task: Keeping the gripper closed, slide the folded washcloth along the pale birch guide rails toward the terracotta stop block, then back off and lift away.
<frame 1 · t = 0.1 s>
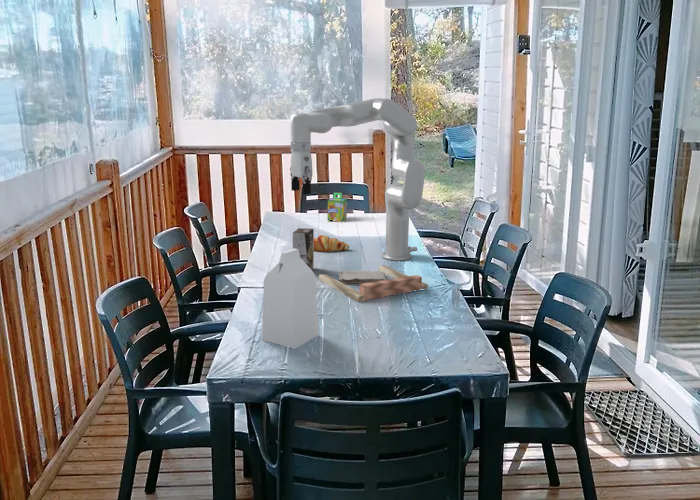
hand: (300, 192, 250), 31 cm above the table, fingers open, 9 cm apart
milk: (290, 338, 190), on the table
coffee box: (303, 270, 258), on the table
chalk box: (337, 220, 354), on the table
croissant: (325, 250, 291), on the table
wooden frame: (372, 284, 241), on the table
washcloth: (362, 281, 247), on the table
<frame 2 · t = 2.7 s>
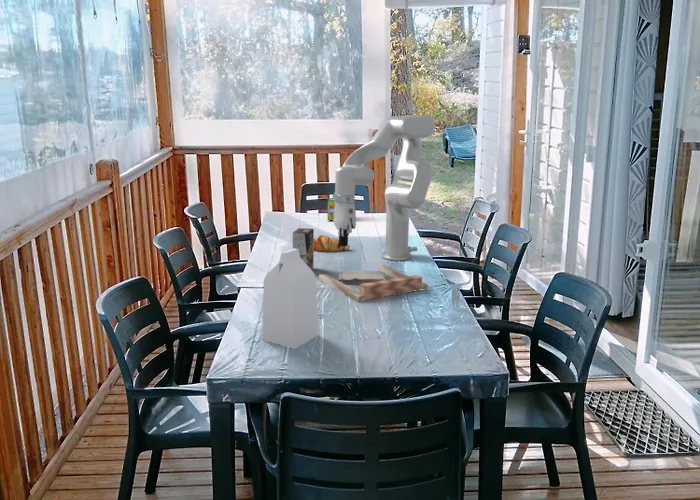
hand: (343, 245, 255), 10 cm above the table, fingers closed
nothing on the table moved.
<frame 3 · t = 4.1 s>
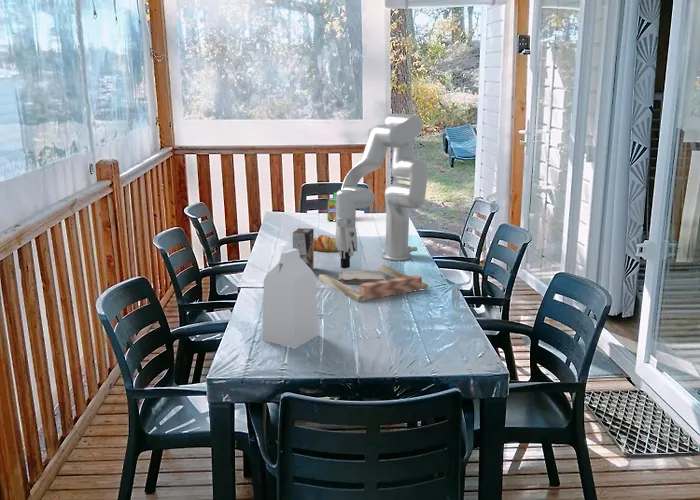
hand: (345, 267, 257), 2 cm above the table, fingers closed
nothing on the table moved.
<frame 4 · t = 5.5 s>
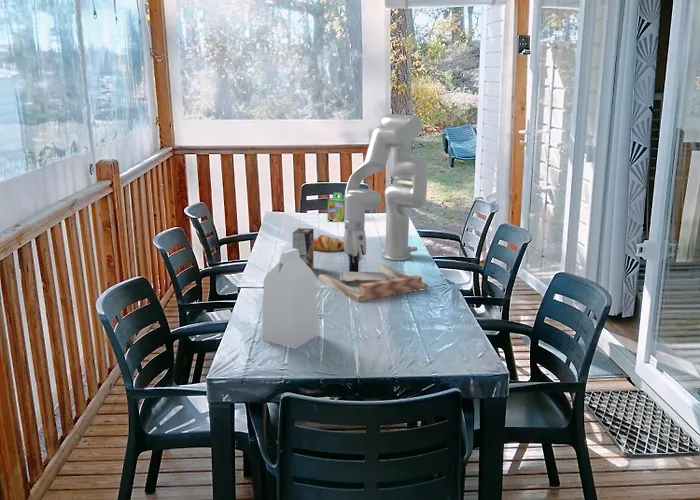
hand: (353, 271, 252), 2 cm above the table, fingers closed
washcloth: (363, 282, 245), on the table
everything else where it was.
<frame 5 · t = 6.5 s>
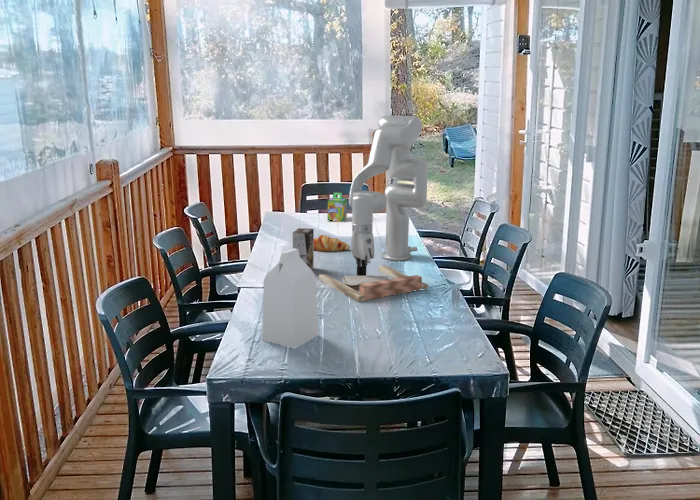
hand: (361, 275, 247), 1 cm above the table, fingers closed
washcloth: (366, 286, 241), on the table, touching gripper
everything else where it was.
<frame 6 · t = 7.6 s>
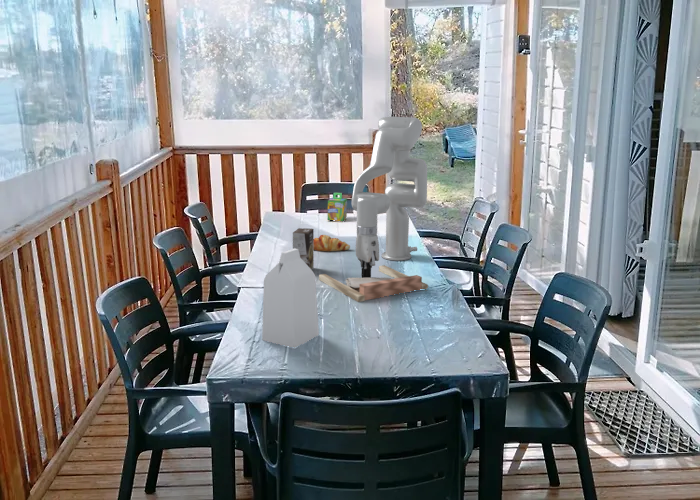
hand: (366, 277, 245), 1 cm above the table, fingers closed
washcloth: (370, 288, 238), on the table, touching gripper, wooden frame
everything else where it was.
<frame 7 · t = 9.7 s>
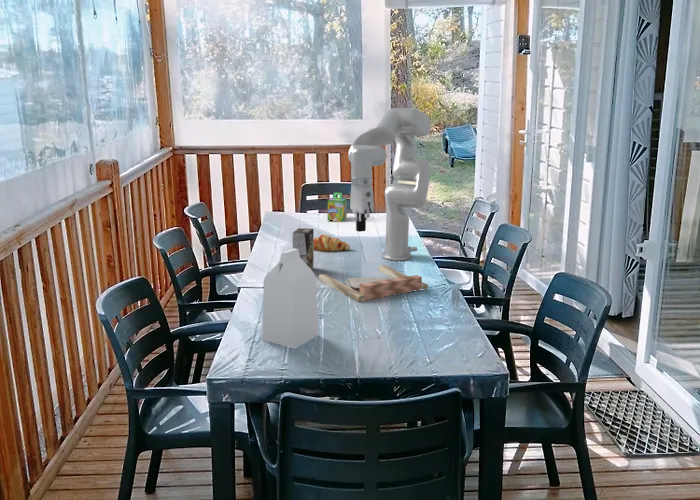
hand: (360, 230, 244), 18 cm above the table, fingers closed
washcloth: (370, 289, 238), on the table
everything else where it was.
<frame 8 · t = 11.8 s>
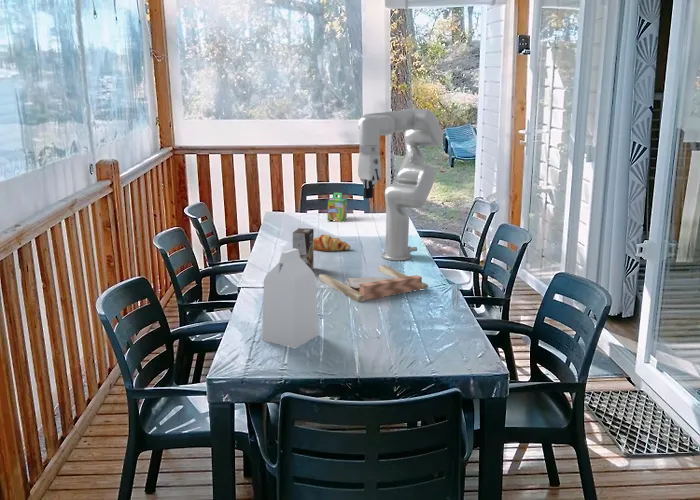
hand: (368, 197, 252), 29 cm above the table, fingers closed
at the end: washcloth inside the target area on the wooden frame (2.5 cm from its centre), point -0.8 cm above the wooden frame's base; washcloth moved 9.4 cm from its start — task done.
